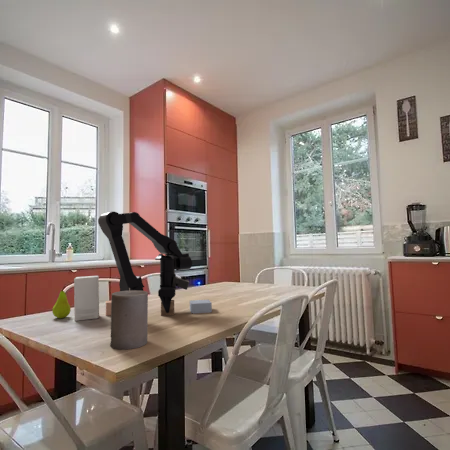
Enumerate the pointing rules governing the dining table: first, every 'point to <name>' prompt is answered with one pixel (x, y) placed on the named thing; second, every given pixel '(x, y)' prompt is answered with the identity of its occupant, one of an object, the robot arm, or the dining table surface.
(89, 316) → the skincare box
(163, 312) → the walnut cube
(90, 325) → the dining table surface
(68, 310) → the fruit
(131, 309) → the pillar candle
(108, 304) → the terracotta cube
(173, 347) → the dining table surface
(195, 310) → the slate slab
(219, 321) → the dining table surface
